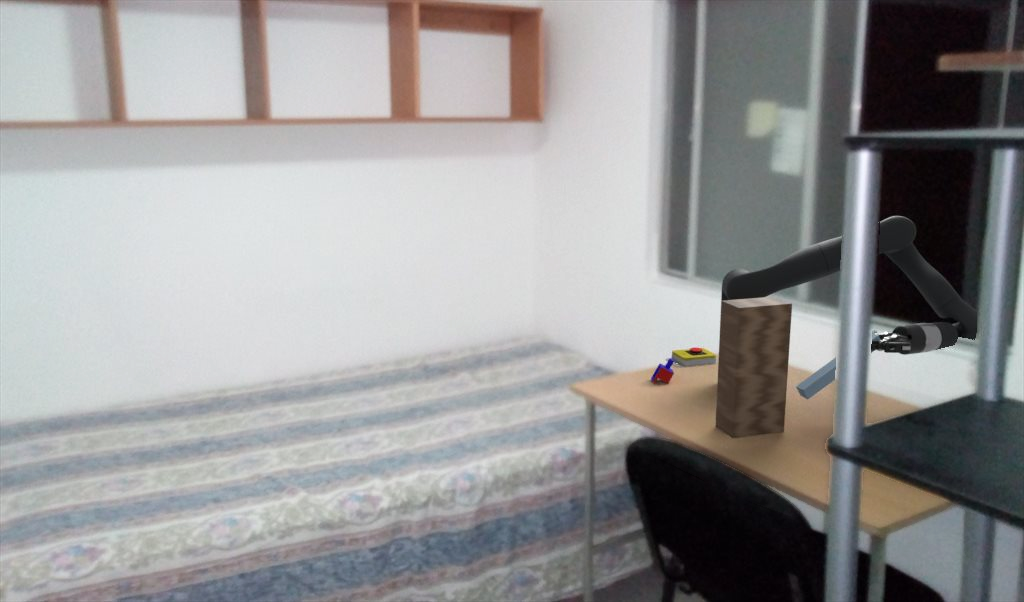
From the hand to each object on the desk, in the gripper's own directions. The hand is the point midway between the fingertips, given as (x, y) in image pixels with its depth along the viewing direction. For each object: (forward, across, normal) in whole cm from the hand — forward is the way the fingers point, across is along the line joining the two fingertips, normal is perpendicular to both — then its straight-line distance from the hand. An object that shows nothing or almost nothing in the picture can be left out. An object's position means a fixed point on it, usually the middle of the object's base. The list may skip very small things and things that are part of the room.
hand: (859, 345), depth 201 cm
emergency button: (+16, -56, +19) cm, 61 cm away
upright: (+30, 0, +18) cm, 35 cm away
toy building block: (+34, -40, +18) cm, 56 cm away
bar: (+5, 0, +6) cm, 8 cm away
